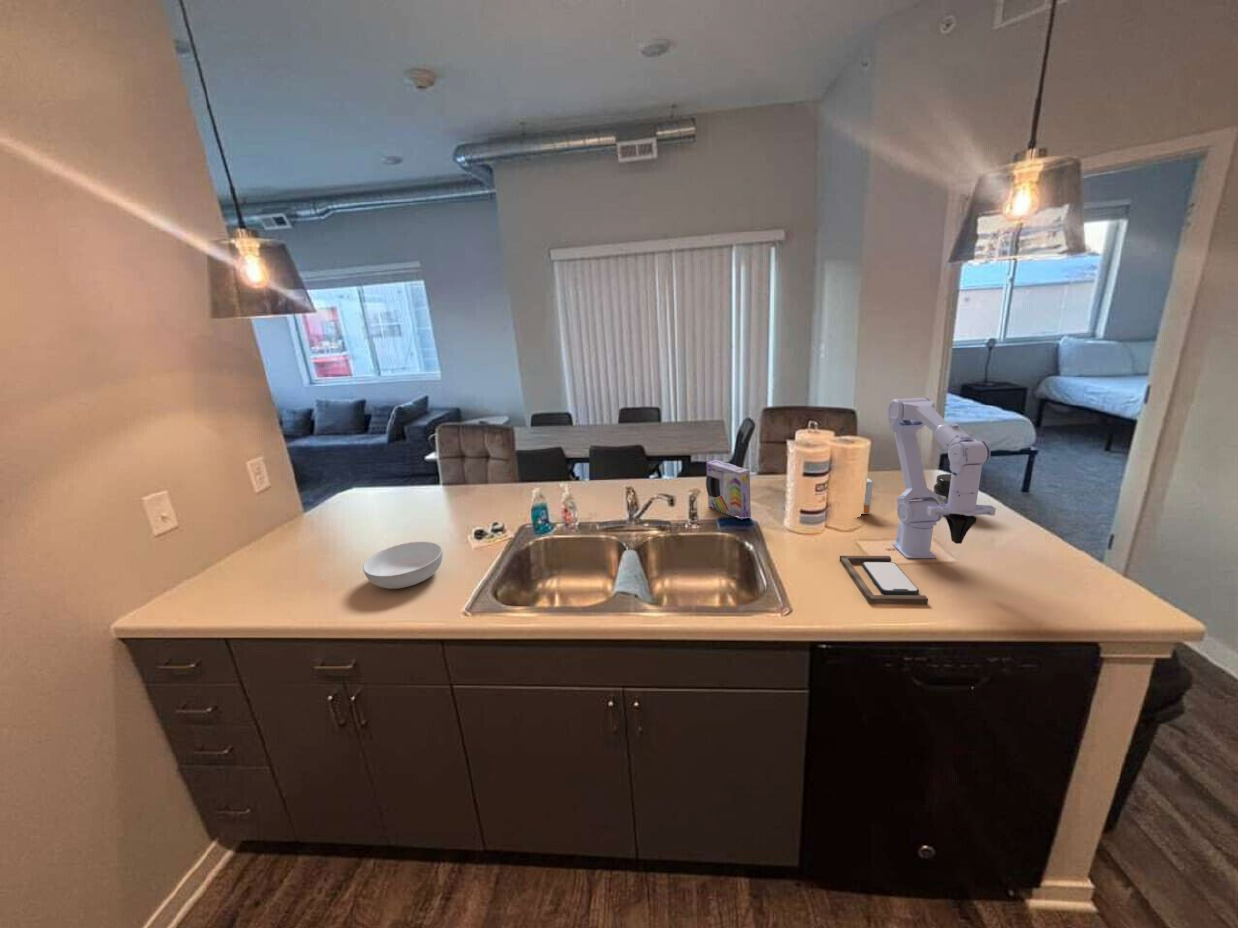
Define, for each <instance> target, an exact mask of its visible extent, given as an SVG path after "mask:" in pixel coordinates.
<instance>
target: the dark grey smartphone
mask: <svg viewBox="0 0 1238 928" xmlns="http://www.w3.org/2000/svg"><path fill="white" fill-rule="evenodd" d="M861 567H862V569H863V570H864V571H865V573H866V574H867V575H868V577H869V578H870V580H871V581H872V583H873V584H874V585H875V587H876V588H877V590H878V592H879V593H880V594H881V595H919V594H920V589H919V588H918V587H917V586H916V585H915V584H914V582H913V581H912V580H911V579H910V578H909V577H908V576H907V575H906V574H905V572H903V570H902V569H901V568H900V567H899V566H898V565H897V564H896V562H892V561H891V562H863V563H861Z"/></svg>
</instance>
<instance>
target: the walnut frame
mask: <svg viewBox="0 0 1238 928" xmlns="http://www.w3.org/2000/svg"><path fill="white" fill-rule="evenodd" d="M838 560H839V562H840V564H841V565H842V567H843V568H844V570H845V572H847V574H848V576H849V577H850V578H851V580H852V581H853V582H854V584H855V585H856V588H857V589H858V590H859V591H860V593H861V594H862V596H863V598H864V599H865V600H866V602H867V603H868V604H869V605H924V606H925V605H928V604H929V598H928V597H927V595H925V594H924V595H883V594H874V593H873V592H872V590H871V588H869V587H868V585H867V583H866V582H865V581H864V579H863V578H862V577H861V575H860V574H859V572H858V571H857V569H855V567H854V566H853V564H862V563H863V562H892V556H890V555H839V559H838Z"/></svg>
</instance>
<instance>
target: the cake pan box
mask: <svg viewBox="0 0 1238 928" xmlns="http://www.w3.org/2000/svg"><path fill="white" fill-rule="evenodd" d="M705 465H706V478H705V488H706V492H707V502H708V503H707V504H708V506H709V507H708V508H710V507H712V508H711V509H713V508H714V509H713V510H715V509H716V510H715V511H717V510H718V511H717V512H720V511H721V512H720V513H722V512H723V513H722V514H724V513H726V514H725V515H727V514H729V515H733V516H739V517H752V516H751V515H752V513H751V512H752V511H751V476H750V475H751V474H750V473H751V472H750V469H748V468H747V469H746V468H743V467H740V466H737V465H735V464H732V463H729V462H724V461H721V460H718V459H713V460H711V461H707V462H706V464H705ZM729 515H728V516H729Z"/></svg>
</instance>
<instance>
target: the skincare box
mask: <svg viewBox="0 0 1238 928" xmlns="http://www.w3.org/2000/svg"><path fill="white" fill-rule="evenodd" d="M873 485H874V481H872V480H871V479H870V478H868V477H867V484H866V494H865V503H864V513H865V514H869V515H870V514H871V513H870V511H871V503H872V496H873V495H872V494H873Z"/></svg>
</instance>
